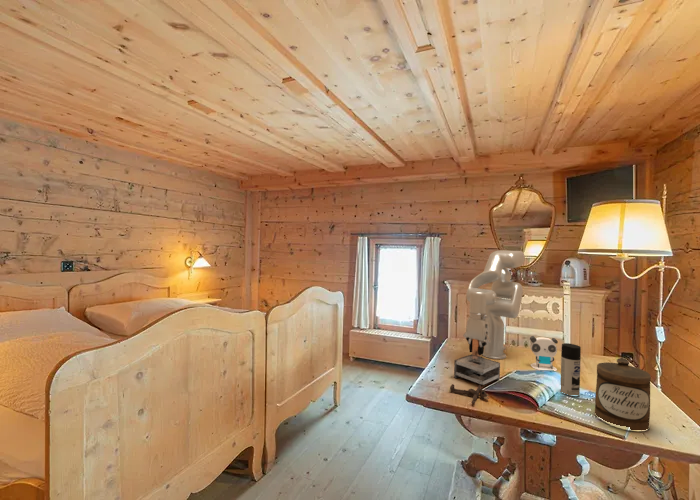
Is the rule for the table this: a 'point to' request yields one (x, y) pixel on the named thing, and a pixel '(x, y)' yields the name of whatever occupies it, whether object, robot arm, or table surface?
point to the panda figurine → (543, 352)
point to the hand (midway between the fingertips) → (476, 352)
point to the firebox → (477, 369)
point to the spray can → (570, 369)
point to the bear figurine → (471, 393)
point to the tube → (475, 347)
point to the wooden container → (623, 394)
